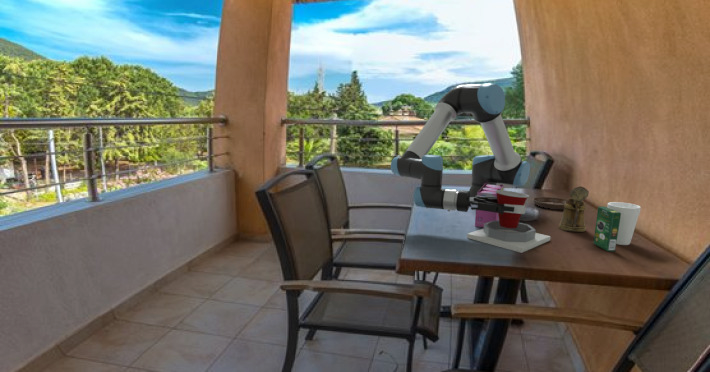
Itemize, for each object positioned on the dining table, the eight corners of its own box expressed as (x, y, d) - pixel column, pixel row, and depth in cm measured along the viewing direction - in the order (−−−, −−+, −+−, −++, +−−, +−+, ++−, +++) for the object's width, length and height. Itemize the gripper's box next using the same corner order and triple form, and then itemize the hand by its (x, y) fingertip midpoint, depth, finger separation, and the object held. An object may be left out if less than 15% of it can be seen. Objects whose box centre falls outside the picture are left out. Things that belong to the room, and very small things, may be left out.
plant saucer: (533, 201, 207) (533, 195, 206) (572, 204, 200) (573, 198, 199) (531, 208, 191) (532, 201, 191) (574, 212, 184) (575, 206, 183)
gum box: (483, 212, 181) (485, 182, 178) (502, 215, 177) (504, 183, 175) (474, 226, 159) (476, 191, 157) (495, 229, 156) (498, 193, 154)
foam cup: (596, 239, 144) (601, 203, 142) (614, 236, 148) (619, 201, 146) (623, 247, 136) (628, 209, 133) (641, 244, 139) (647, 207, 137)
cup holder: (497, 227, 157) (498, 216, 157) (550, 240, 143) (551, 227, 142) (466, 237, 144) (467, 225, 144) (521, 252, 130) (522, 239, 129)
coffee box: (616, 252, 132) (622, 212, 129) (607, 252, 131) (613, 212, 129) (601, 244, 139) (605, 206, 137) (592, 244, 139) (597, 206, 137)
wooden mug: (561, 234, 150) (566, 185, 147) (557, 224, 163) (562, 179, 160) (589, 237, 147) (595, 187, 144) (582, 227, 160) (588, 181, 156)
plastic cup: (529, 231, 135) (532, 195, 134) (494, 228, 138) (497, 193, 136) (522, 224, 146) (525, 190, 144) (490, 222, 148) (493, 188, 147)
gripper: (461, 204, 158) (525, 211, 149) (451, 217, 139) (523, 225, 131) (462, 185, 157) (527, 191, 148) (452, 195, 138) (525, 202, 129)
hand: (525, 207), depth 139 cm, fingers closed on plastic cup, 8 cm apart
